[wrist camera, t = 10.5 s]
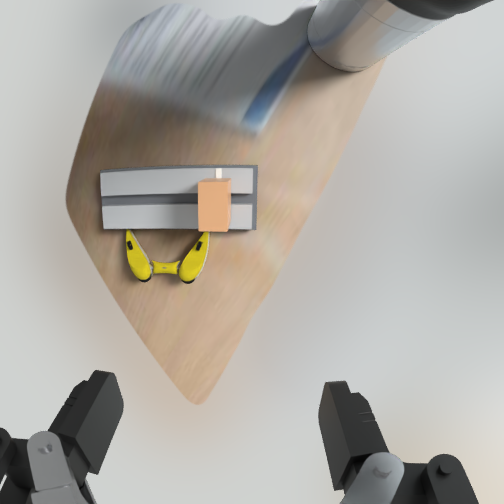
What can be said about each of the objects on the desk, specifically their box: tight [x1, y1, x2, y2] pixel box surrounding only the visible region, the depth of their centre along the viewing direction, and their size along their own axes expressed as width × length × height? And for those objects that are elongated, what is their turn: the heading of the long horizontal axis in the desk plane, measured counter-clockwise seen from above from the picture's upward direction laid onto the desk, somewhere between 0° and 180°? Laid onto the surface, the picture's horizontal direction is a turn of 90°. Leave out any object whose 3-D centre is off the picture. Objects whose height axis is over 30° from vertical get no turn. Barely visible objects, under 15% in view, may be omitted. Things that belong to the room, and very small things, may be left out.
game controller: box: [126, 229, 210, 284], centre depth 35 cm, size 10×6×4 cm, turn 89°
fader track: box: [100, 165, 258, 230], centre depth 33 cm, size 18×7×3 cm, turn 89°
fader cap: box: [198, 178, 231, 232], centre depth 30 cm, size 3×4×6 cm, turn 179°
